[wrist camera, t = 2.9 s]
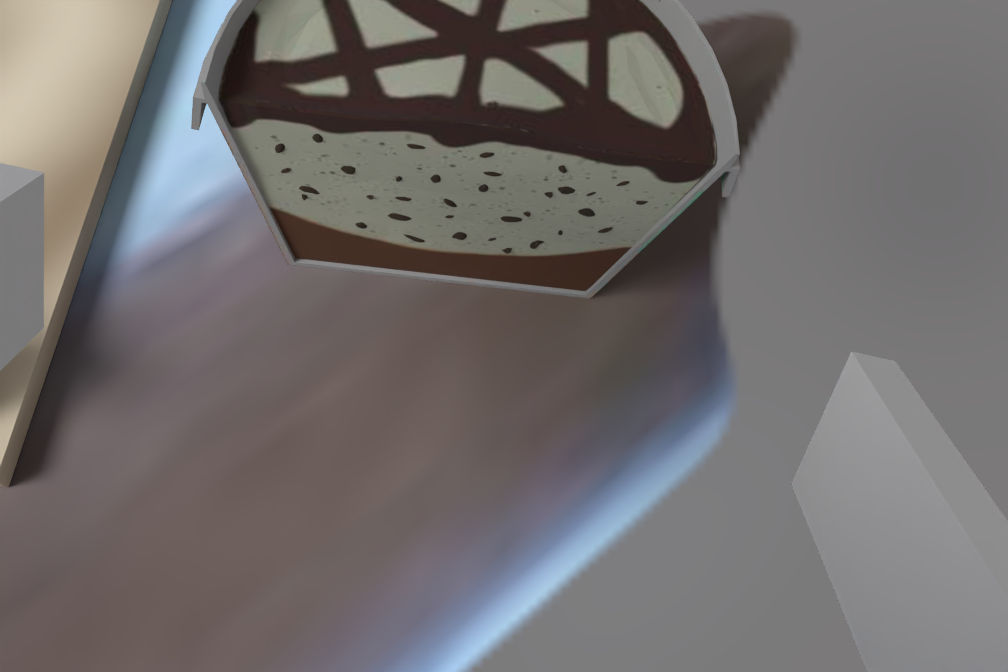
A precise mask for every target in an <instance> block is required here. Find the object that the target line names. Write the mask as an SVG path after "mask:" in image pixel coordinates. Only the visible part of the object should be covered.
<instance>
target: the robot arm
mask: <svg viewBox="0 0 1008 672" xmlns="http://www.w3.org/2000/svg"><path fill="white" fill-rule="evenodd" d="M43 328H44V172H39V171H35V170H30V169H26V168H21V167H17V166H12V165H8V164H3V163H0V371H1V370H2V369H3V368H4V367H5V366H6V365H7V364H8V363H9V362H10V361H11V360H12V359H13V358H14V357H15V356H16V355H17V354H18V353H19V352H20V351H21V350H22V349H23V348H24V347H25V346H26V345H27V344H28V343H29V342H30V341H31V340H32V339H33V338H34V337H35V336H36V335H37V334H38V333H39V332H40V331H41V330H42V329H43ZM791 485H792V488H793V490H794V492H795V495H796V497H797V500H798V502H799V505H800V507H801V510H802V512H803V514H804V517H805V520H806V522H807V524H808V527H809V530H810V532H811V534H812V537H813V539H814V542H815V544H816V547H817V549H818V552H819V554H820V557H821V559H822V562H823V564H824V566H825V569H826V571H827V574H828V576H829V579H830V581H831V584H832V586H833V589H834V591H835V594H836V596H837V599H838V601H839V604H840V606H841V609H842V611H843V613H844V616H845V618H846V621H847V623H848V626H849V628H850V631H851V633H852V635H853V638H854V640H855V643H856V645H857V648H858V651H859V653H860V656H861V658H862V660H863V663H864V665H865V668H866V670H867V672H1008V521H1007V519H1006V518H1005V516H1004V515H1003V514H1002V512H1001V511H1000V509H999V508H998V506H997V505H996V504H995V502H994V501H993V499H992V498H991V496H990V495H989V494H988V492H987V491H986V489H985V488H984V486H983V485H982V484H981V482H980V481H979V479H978V478H977V477H976V475H975V474H974V472H973V471H972V469H971V468H970V467H969V465H968V464H967V462H966V461H965V459H964V458H963V457H962V455H961V454H960V452H959V451H958V450H957V448H956V447H955V445H954V444H953V442H952V441H951V440H950V438H949V437H948V435H947V434H946V433H945V431H944V430H943V428H942V427H941V425H940V424H939V423H938V421H937V420H936V418H935V417H934V415H933V414H932V413H931V411H930V410H929V408H928V407H927V405H926V404H925V403H924V401H923V400H922V398H921V397H920V396H919V394H918V393H917V391H916V390H915V388H914V387H913V386H912V384H911V383H910V381H909V380H908V378H907V377H906V376H905V374H904V373H903V371H902V370H901V369H900V367H899V366H898V364H897V363H896V362H895V361H893V360H888V359H883V358H879V357H875V356H870V355H866V354H861V353H857V352H851V354H850V356H849V358H848V360H847V362H846V364H845V367H844V369H843V371H842V373H841V375H840V378H839V380H838V382H837V384H836V386H835V389H834V391H833V393H832V395H831V397H830V400H829V402H828V404H827V406H826V408H825V411H824V413H823V415H822V417H821V420H820V422H819V424H818V426H817V428H816V430H815V432H814V435H813V437H812V439H811V441H810V443H809V446H808V448H807V450H806V452H805V454H804V457H803V459H802V461H801V463H800V466H799V468H798V470H797V472H796V474H795V477H794V479H793V481H792V483H791Z"/></svg>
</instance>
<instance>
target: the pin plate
mask: <svg viewBox="0 0 1008 672" xmlns="http://www.w3.org/2000/svg"><path fill="white" fill-rule="evenodd" d="M172 1H173V0H0V163H3V164H8V165H12V166H17V167H21V168H26V169H30V170H35V171H39V172H44V328H43V329H42V330H41V331H40V332H39V333H38V334H37V335H36V336H35V337H34V338H33V339H32V340H31V341H30V342H29V343H28V344H27V345H26V346H25V347H24V348H23V349H22V350H21V351H20V352H19V353H18V354H17V355H16V356H15V357H14V358H13V359H12V360H11V361H10V362H9V363H8V364H7V365H6V366H5V367H4V368H3V369H2V370H1V371H0V486H4V487H9V485H10V482H11V479H12V476H13V473H14V470H15V467H16V464H17V461H18V458H19V455H20V452H21V449H22V446H23V443H24V440H25V437H26V434H27V431H28V428H29V425H30V422H31V419H32V416H33V413H34V410H35V407H36V404H37V401H38V398H39V395H40V393H41V390H42V387H43V384H44V381H45V378H46V375H47V372H48V369H49V366H50V363H51V360H52V357H53V354H54V351H55V348H56V345H57V342H58V339H59V336H60V333H61V330H62V327H63V324H64V321H65V318H66V315H67V312H68V309H69V306H70V304H71V301H72V298H73V295H74V292H75V289H76V286H77V283H78V280H79V277H80V274H81V271H82V268H83V265H84V262H85V259H86V256H87V253H88V250H89V247H90V244H91V241H92V238H93V235H94V232H95V229H96V226H97V223H98V220H99V217H100V214H101V212H102V209H103V206H104V203H105V200H106V197H107V194H108V191H109V188H110V185H111V182H112V179H113V176H114V173H115V170H116V167H117V164H118V161H119V158H120V155H121V152H122V149H123V146H124V143H125V140H126V137H127V134H128V131H129V128H130V125H131V123H132V120H133V117H134V114H135V111H136V108H137V105H138V102H139V99H140V96H141V93H142V90H143V87H144V84H145V81H146V78H147V75H148V72H149V69H150V66H151V63H152V60H153V57H154V54H155V51H156V48H157V45H158V42H159V39H160V36H161V33H162V31H163V28H164V25H165V22H166V19H167V16H168V13H169V10H170V7H171V4H172Z"/></svg>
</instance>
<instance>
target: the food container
mask: <svg viewBox="0 0 1008 672" xmlns="http://www.w3.org/2000/svg"><path fill="white" fill-rule="evenodd" d="M206 103H207V104H208V106H209V108H210V110H211V112H212V114H213V116H214V118H215V120H216V122H217V124H218V126H219V128H220V130H221V132H222V134H223V136H224V138H225V140H226V142H227V144H228V146H229V148H230V150H231V152H232V154H233V156H234V158H235V160H236V162H237V164H238V166H239V168H240V170H241V172H242V174H243V176H244V178H245V180H246V182H247V184H248V186H249V188H250V190H251V192H252V194H253V196H254V198H255V200H256V202H257V204H258V206H259V208H260V210H261V212H262V214H263V216H264V218H265V220H266V222H267V224H268V226H269V227H270V229H271V231H272V233H273V235H274V237H275V239H276V241H277V243H278V245H279V247H280V249H281V251H282V253H283V255H284V257H285V259H286V261H287V263H288V264H289V265H298V266H307V267H316V268H325V269H333V270H342V271H351V272H360V273H369V274H378V275H386V276H395V277H404V278H413V279H422V280H431V281H439V282H448V283H457V284H466V285H475V286H483V287H492V288H501V289H510V290H519V291H528V292H536V293H545V294H554V295H563V296H572V297H581V298H589V299H591V298H592V297H593V296H594V295H595V294H596V293H597V292H598V291H599V290H600V289H601V288H602V287H603V286H604V285H605V284H607V283H608V282H609V281H610V280H611V279H612V278H613V277H614V276H615V275H616V274H617V273H618V272H619V271H620V270H621V269H622V268H624V267H625V266H626V265H627V264H628V263H629V262H630V261H631V260H632V259H633V258H634V257H635V256H636V255H637V254H638V253H639V252H641V251H642V250H643V249H644V248H645V247H646V246H647V245H648V244H649V243H650V242H651V241H652V240H653V239H654V238H655V237H656V236H658V235H659V234H660V233H661V232H662V231H663V230H664V229H665V228H666V227H667V226H668V225H669V224H670V223H671V222H672V221H673V220H675V219H676V218H677V217H678V216H679V215H680V214H681V213H682V212H683V211H684V210H685V209H686V208H687V207H688V206H689V205H690V204H692V203H693V202H694V201H695V200H696V199H697V198H698V197H699V196H700V195H701V194H702V193H703V192H704V191H705V190H706V189H707V188H709V187H710V186H711V185H712V184H713V183H714V182H715V181H716V180H717V179H718V178H719V177H720V176H721V188H722V197H730V194H731V192H732V189H733V186H734V184H735V181H736V179H737V176H738V173H739V171H740V163H739V155H740V151H739V141H738V131H737V121H736V116H735V112H734V108H733V104H732V100H731V97H730V93H729V89H728V85H727V82H726V80H725V77H724V75H723V73H722V70H721V68H720V66H719V63H718V61H717V59H716V56H715V54H714V52H713V49H712V48H711V46H710V44H709V43H708V41H707V40H706V38H705V36H704V35H703V33H702V31H701V30H700V28H699V27H698V25H697V23H696V22H695V20H694V18H693V17H692V16H691V14H690V13H689V12H688V11H687V10H686V9H685V7H684V6H683V5H682V4H681V3H680V1H679V0H237V1H236V3H235V4H234V5H233V7H232V8H231V10H230V11H229V12H228V14H227V16H226V18H225V20H224V22H223V23H222V25H221V27H220V29H219V31H218V33H217V35H216V37H215V39H214V41H213V43H212V45H211V47H210V49H209V51H208V53H207V55H206V57H205V59H204V62H203V65H202V69H201V72H200V75H199V79H198V82H197V86H196V89H195V93H194V96H193V108H192V126H191V129H196V130H199V127H200V124H201V120H202V117H203V113H204V110H205V106H206Z"/></svg>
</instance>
